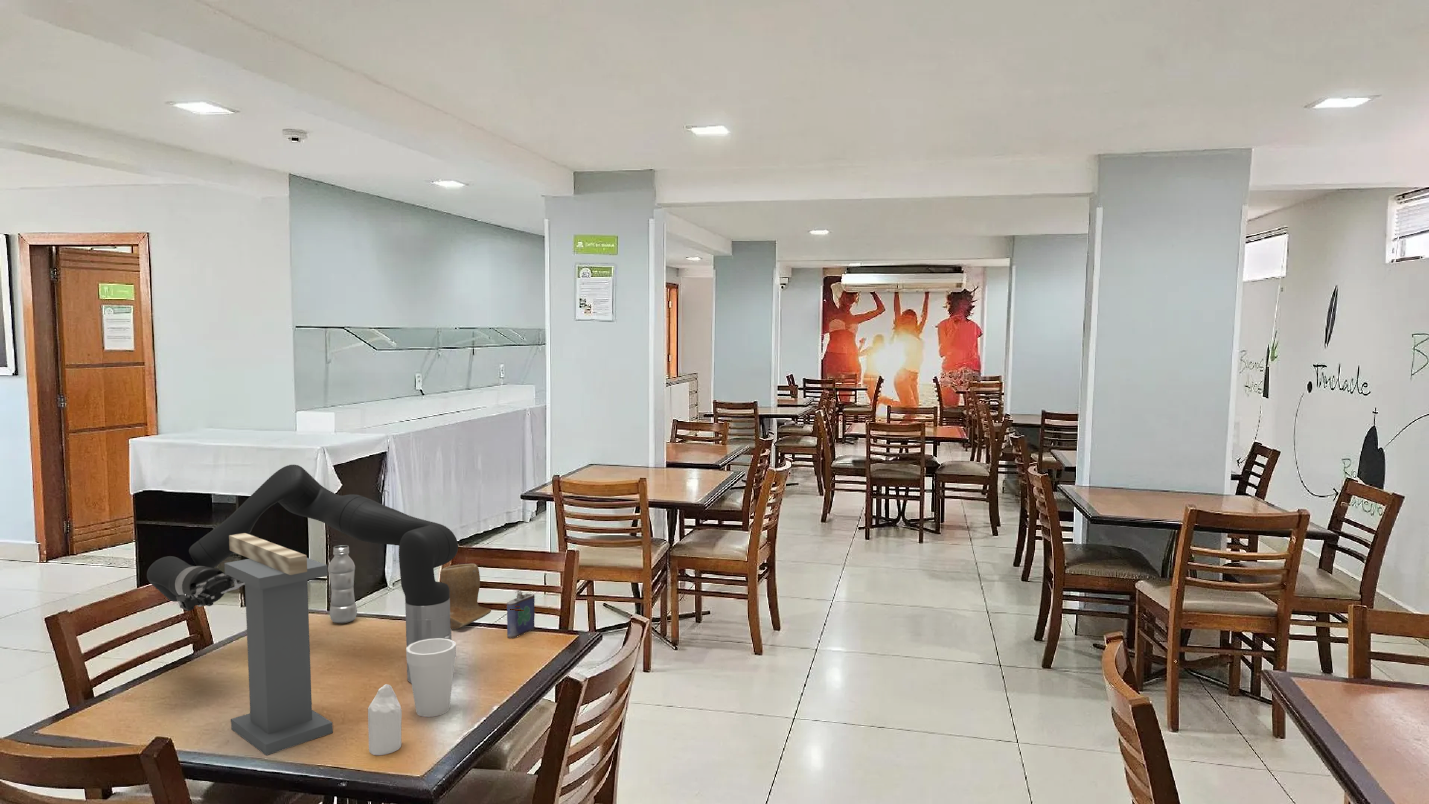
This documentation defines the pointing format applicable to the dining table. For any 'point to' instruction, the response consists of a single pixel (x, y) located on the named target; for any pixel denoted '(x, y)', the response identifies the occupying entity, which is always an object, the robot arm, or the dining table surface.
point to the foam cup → (431, 674)
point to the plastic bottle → (342, 586)
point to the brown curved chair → (463, 594)
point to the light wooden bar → (268, 553)
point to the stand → (278, 657)
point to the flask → (520, 615)
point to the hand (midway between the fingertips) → (231, 590)
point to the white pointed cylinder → (384, 722)
